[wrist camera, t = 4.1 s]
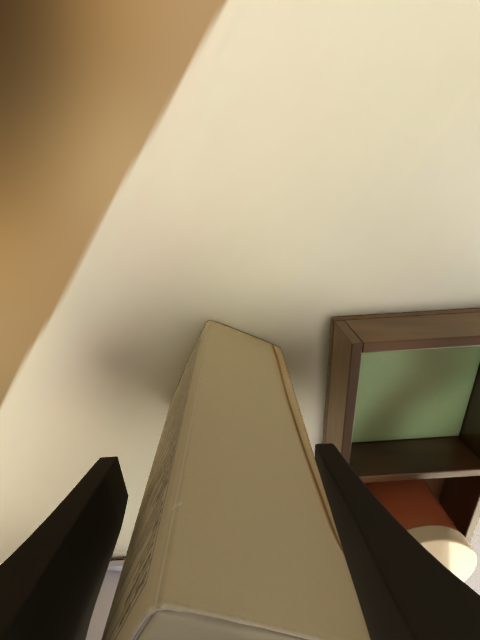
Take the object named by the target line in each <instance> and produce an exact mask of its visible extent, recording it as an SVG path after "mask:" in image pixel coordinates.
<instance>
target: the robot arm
mask: <svg viewBox="0 0 480 640" xmlns="http://www.w3.org/2000/svg"><path fill="white" fill-rule="evenodd" d="M315 461H316V464H317V468H318V470H319V473H320V477H321V480H322V484H323V487H324V490H325V494H326V497H327V500H328V503H329V506H330V509H331V513H332V516H333V520H334V523H335V526H336V529H337V532H338V536H339V539H340V542H341V546H342V549H343V552H344V555H345V559H346V562H347V566H348V569H349V572H350V575H351V578H352V581H353V584H354V587H355V590H356V594H357V597H358V600H359V603H360V607H361V610H362V613H363V616H364V619H365V623H366V626H367V629H368V633H369V636H370V639H371V640H480V595H478V594H477V593H476V592H475V591H474V590H472V589H471V588H470V587H469V586H468V585H466V584H465V583H464V582H463V581H462V580H460V579H459V578H458V577H457V576H456V575H454V574H453V573H452V572H451V571H450V570H449V569H447V568H446V567H445V566H444V565H443V564H442V563H441V562H440V561H438V560H437V559H436V558H435V557H434V556H433V555H432V554H431V553H430V552H429V551H428V550H426V549H425V548H424V547H423V546H422V545H421V544H420V543H419V542H418V541H417V540H416V539H415V538H414V537H413V536H412V535H411V534H410V533H409V532H408V531H407V530H406V529H405V528H404V527H403V526H402V525H401V524H400V523H399V522H398V521H397V520H396V519H395V518H394V517H393V516H392V514H391V513H390V512H389V511H388V510H387V509H386V508H385V507H384V506H383V505H382V504H381V502H380V501H379V500H378V499H377V498H376V497H375V496H374V494H373V493H372V492H371V491H370V490H369V488H368V487H367V486H366V485H365V484H364V483H363V481H362V480H361V479H360V478H359V476H358V475H357V474H356V473H355V471H354V470H353V469H352V468H351V466H350V465H349V464H348V462H347V461H346V460H345V458H344V457H343V456H342V454H341V453H340V452H339V450H338V449H337V447H336V446H335V445H334V444H333V443H326V444H316V445H315ZM127 500H128V493H127V490H126V486H125V482H124V479H123V475H122V472H121V468H120V464H119V461H118V457H103V458H100V459H99V460H98V461H97V462H96V463H95V464H94V466H93V467H92V468H91V469H90V470H89V471H88V472H87V474H86V475H85V476H84V477H83V478H82V479H81V481H80V482H79V483H78V484H77V485H76V486H75V488H74V489H73V490H72V491H71V492H70V493H69V494H68V496H67V497H66V498H65V499H64V500H63V501H62V502H61V503H60V505H59V506H58V507H57V508H56V509H55V510H54V511H53V512H52V513H51V515H50V516H49V517H48V518H47V519H46V520H45V521H44V522H43V523H42V524H41V525H40V526H39V527H38V528H37V529H36V530H35V531H34V532H33V534H32V535H31V536H30V537H29V538H28V539H27V540H26V541H25V542H24V543H23V544H22V545H21V546H20V547H19V548H18V549H17V550H16V551H15V552H14V553H13V554H12V555H11V556H10V557H9V558H8V559H7V560H6V561H5V562H3V563H2V564H1V565H0V640H101V639H102V636H103V632H104V629H105V625H106V622H107V618H108V615H109V611H110V608H111V605H112V601H113V598H114V595H115V591H116V588H117V584H118V581H119V578H120V574H121V571H122V567H123V564H124V561H125V560H115V561H110V560H111V557H112V554H113V551H114V548H115V545H116V542H117V539H118V536H119V533H120V530H121V527H122V523H123V518H124V514H125V509H126V505H127Z"/></svg>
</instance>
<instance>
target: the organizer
mask: <svg viewBox="0 0 480 640" xmlns="http://www.w3.org/2000/svg"><path fill="white" fill-rule="evenodd" d="M326 443H333V444H334V445H335V446H336V447H337V449H338V450H339V452H340V453H341V454H342V456H343V457H344V458H345V460H346V461H347V462H348V464H349V465H350V466H351V468H352V469H353V470H354V471H355V473H356V474H357V475H358V476H359V478H360V479H361V480H362V481H363V483H371V482H386V481H402V480H417V479H424V480H425V481H426V483H427V484H428V486H429V487H430V489H431V490H432V492H433V493H434V495H435V496H436V498H437V499H438V501H439V502H440V504H441V505H442V507H443V508H444V510H445V511H446V513H447V514H448V516H449V517H450V519H451V520H452V522H453V523H454V525H455V526H456V528H457V529H458V531H459V532H460V533H461V534H462V535H463V536H464V537H465V538H466V539H467V541H468V542H469V544H470V543H471V540H472V537H473V535H474V532H475V529H476V526H477V524H478V521H479V518H480V308H474V309H457V310H441V311H424V312H408V313H392V314H375V315H359V316H342V317H332V318H331V330H330V345H329V360H328V375H327V390H326V405H325V421H324V436H323V444H326Z"/></svg>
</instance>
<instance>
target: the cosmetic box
mask: <svg viewBox="0 0 480 640" xmlns="http://www.w3.org/2000/svg"><path fill="white" fill-rule="evenodd" d="M101 640H371V639H370V636H369V633H368V629H367V626H366V623H365V619H364V616H363V613H362V610H361V607H360V603H359V600H358V597H357V594H356V590H355V587H354V584H353V581H352V578H351V575H350V572H349V569H348V566H347V562H346V559H345V555H344V552H343V549H342V546H341V542H340V539H339V536H338V532H337V529H336V526H335V523H334V520H333V516H332V513H331V509H330V506H329V503H328V500H327V497H326V494H325V490H324V487H323V484H322V480H321V477H320V473H319V470H318V468H317V464H316V461H315V457H314V455H313V451H312V448H311V445H310V442H309V438H308V435H307V432H306V428H305V425H304V422H303V418H302V415H301V412H300V409H299V406H298V402H297V399H296V396H295V393H294V389H293V386H292V383H291V380H290V376H289V373H288V370H287V367H286V363H285V360H284V357H283V354H282V351H281V349H280V348H279V347H277V346H275V345H272V344H270V343H267V342H265V341H263V340H260V339H258V338H255V337H253V336H250V335H248V334H245V333H243V332H240V331H238V330H235V329H233V328H230V327H227V326H225V325H222V324H220V323H217V322H214V321H208V322H207V323H206V324H205V327H204V329H203V331H202V333H201V335H200V337H199V339H198V341H197V344H196V346H195V348H194V350H193V352H192V355H191V357H190V359H189V361H188V364H187V366H186V368H185V371H184V373H183V375H182V377H181V380H180V382H179V385H178V387H177V389H176V392H175V394H174V397H173V399H172V402H171V404H170V407H169V410H168V414H167V417H166V421H165V424H164V428H163V431H162V434H161V438H160V441H159V445H158V448H157V451H156V455H155V458H154V461H153V465H152V468H151V472H150V475H149V479H148V482H147V486H146V489H145V492H144V496H143V499H142V503H141V506H140V510H139V513H138V516H137V520H136V523H135V527H134V530H133V534H132V537H131V540H130V544H129V547H128V551H127V554H126V557H125V561H124V564H123V567H122V571H121V574H120V578H119V581H118V584H117V588H116V591H115V595H114V598H113V601H112V605H111V608H110V611H109V615H108V618H107V622H106V625H105V629H104V632H103V636H102V639H101Z"/></svg>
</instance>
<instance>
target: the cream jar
mask: <svg viewBox="0 0 480 640" xmlns="http://www.w3.org/2000/svg"><path fill="white" fill-rule="evenodd" d="M364 484H365V485H366V486H367V487H368V488H369V490H370V491H371V492H372V493H373V494H374V496H375V497H376V498H377V499H378V500H379V501H380V502H381V504H382V505H383V506H384V507H385V508H386V509H387V510H388V511H389V512H390V513H391V514H392V516H393V517H394V518H395V519H396V520H397V521H398V522H399V523H400V524H401V525H402V526H403V527H404V528H405V529H406V530H407V531H408V532H409V533H410V534H411V535H412V536H413V537H414V538H415V539H416V540H417V541H418V542H419V543H420V544H421V545H422V546H423V547H424V548H425V549H426V550H428V551H429V552H430V553H431V554H432V555H433V556H434V557H435V558H436V559H437V560H438V561H440V562H441V563H442V564H443V565H444V566H445V567H446V568H447V569H449V570H450V571H451V572H452V573H453V574H454V575H456V576H457V577H458V578H459V579H460V580H462V581H463V582H464V581H466V580H467V579H468V578H469V577H470V576H471V574H472V573H473V572H474V570H475V568H476V565H477V557H476V554H475V551H474V550H473V548H472V547H471V545H470V544H469V542H468V541H467V539H466V538H465V537H464V536H463V535H462V534H461V533H460V532H459V531H458V529H457V528H456V526H455V525H454V523H453V522H452V520H451V519H450V517H449V516H448V514H447V513H446V511H445V510H444V508H443V507H442V505H441V504H440V502H439V501H438V499H437V498H436V496H435V495H434V493H433V492H432V490H431V489H430V487H429V486H428V484H427V483H426V481H425V480H424V479H417V480H402V481H386V482H371V483H364Z"/></svg>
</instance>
